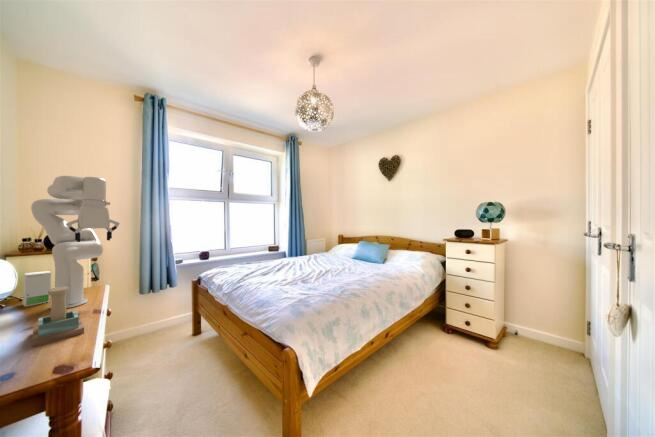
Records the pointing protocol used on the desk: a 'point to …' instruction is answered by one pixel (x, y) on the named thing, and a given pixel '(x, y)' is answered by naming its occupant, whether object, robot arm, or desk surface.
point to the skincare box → (36, 288)
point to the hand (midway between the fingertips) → (94, 241)
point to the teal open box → (57, 328)
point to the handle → (58, 303)
